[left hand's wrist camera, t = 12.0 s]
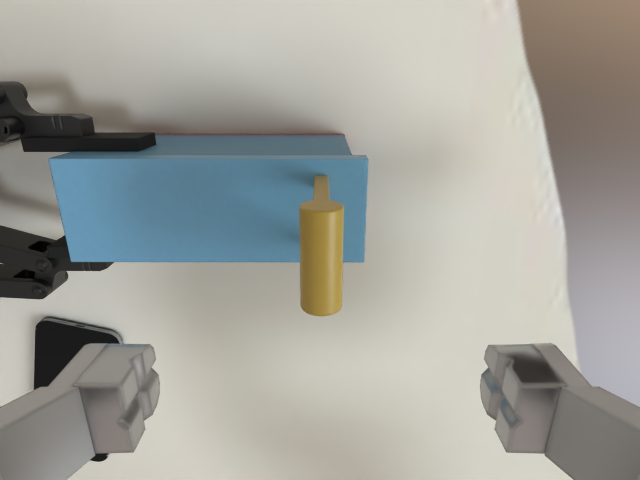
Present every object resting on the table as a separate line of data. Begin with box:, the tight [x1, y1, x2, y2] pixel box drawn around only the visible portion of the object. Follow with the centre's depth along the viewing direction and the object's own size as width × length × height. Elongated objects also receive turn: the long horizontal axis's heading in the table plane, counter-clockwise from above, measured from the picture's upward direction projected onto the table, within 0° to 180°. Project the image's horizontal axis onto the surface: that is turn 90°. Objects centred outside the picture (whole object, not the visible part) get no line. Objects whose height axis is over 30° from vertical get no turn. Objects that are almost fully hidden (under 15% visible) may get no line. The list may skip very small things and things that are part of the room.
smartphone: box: [34, 318, 122, 462], centre depth 40 cm, size 7×1×15 cm
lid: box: [48, 155, 368, 316], centre depth 20 cm, size 16×6×8 cm, turn 90°
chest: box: [63, 134, 352, 155], centre depth 28 cm, size 16×6×9 cm, turn 90°
